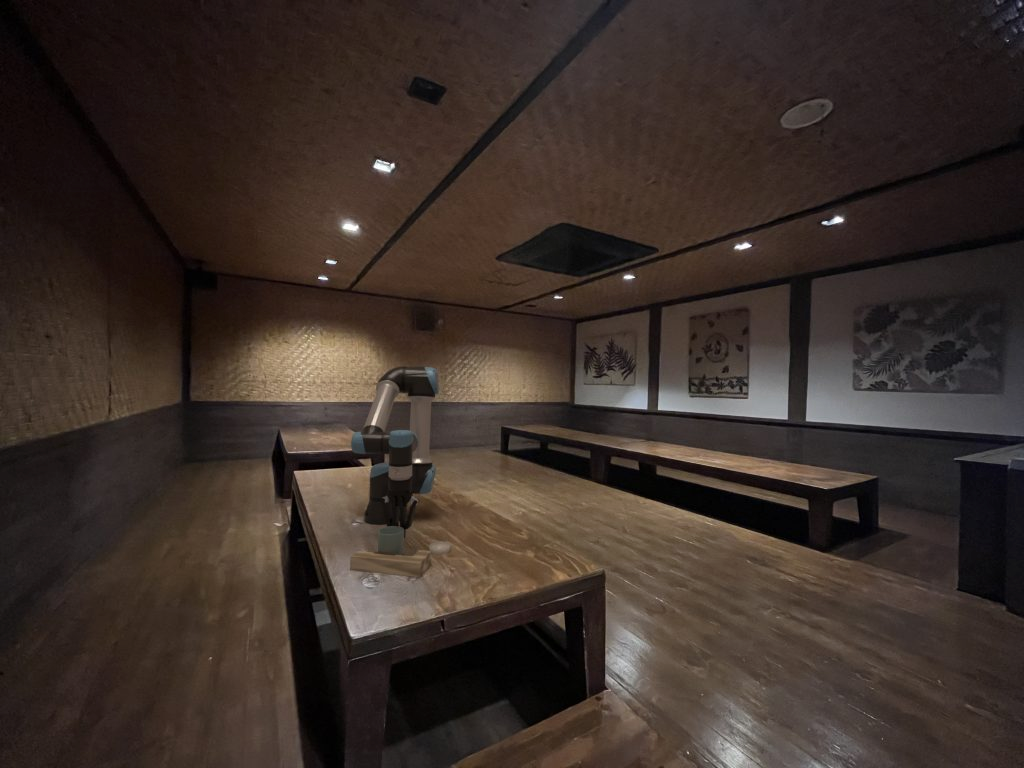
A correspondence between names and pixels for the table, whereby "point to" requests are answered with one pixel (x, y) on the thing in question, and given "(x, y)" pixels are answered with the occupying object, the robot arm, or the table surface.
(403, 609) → the table surface
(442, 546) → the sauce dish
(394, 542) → the cup
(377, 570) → the wooden block
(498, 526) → the table surface
